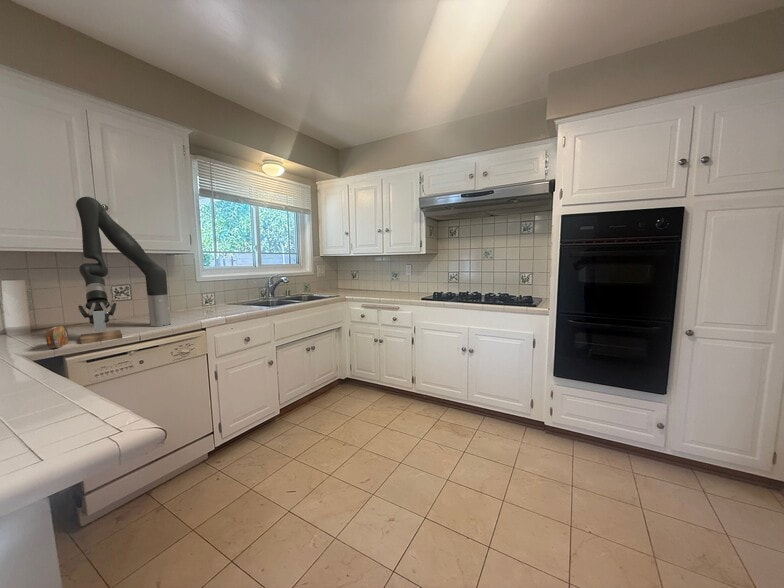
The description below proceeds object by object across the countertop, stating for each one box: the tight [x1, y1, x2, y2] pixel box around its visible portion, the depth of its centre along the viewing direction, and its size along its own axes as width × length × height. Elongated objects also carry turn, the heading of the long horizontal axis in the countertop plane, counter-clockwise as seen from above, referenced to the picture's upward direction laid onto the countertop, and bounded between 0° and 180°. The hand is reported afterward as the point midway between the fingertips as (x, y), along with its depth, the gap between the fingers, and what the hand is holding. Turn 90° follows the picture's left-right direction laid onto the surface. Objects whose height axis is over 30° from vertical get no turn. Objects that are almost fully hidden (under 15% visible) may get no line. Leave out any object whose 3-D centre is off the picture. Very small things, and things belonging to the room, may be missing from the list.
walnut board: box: [80, 329, 123, 345], centre depth 151 cm, size 14×14×2 cm
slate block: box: [93, 311, 107, 333], centre depth 150 cm, size 4×4×9 cm
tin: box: [45, 325, 69, 350], centre depth 137 cm, size 15×3×8 cm, turn 29°
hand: (99, 322), depth 149 cm, fingers closed on slate block, 4 cm apart
